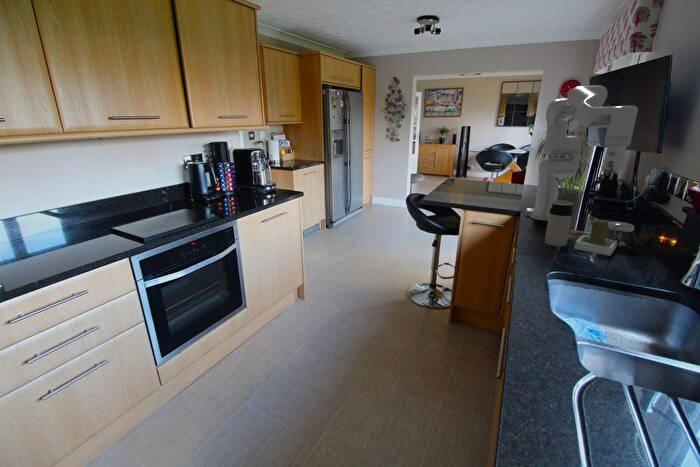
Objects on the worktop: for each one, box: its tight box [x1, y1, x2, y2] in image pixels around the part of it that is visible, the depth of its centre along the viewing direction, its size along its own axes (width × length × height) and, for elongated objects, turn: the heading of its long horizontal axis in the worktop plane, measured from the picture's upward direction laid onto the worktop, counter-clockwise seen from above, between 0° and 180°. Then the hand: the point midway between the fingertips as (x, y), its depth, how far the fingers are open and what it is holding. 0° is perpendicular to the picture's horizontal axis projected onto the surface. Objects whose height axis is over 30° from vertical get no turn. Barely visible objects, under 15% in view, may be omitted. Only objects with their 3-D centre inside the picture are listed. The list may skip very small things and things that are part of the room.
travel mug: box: [544, 199, 574, 248], centre depth 136 cm, size 8×8×18 cm
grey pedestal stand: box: [606, 221, 635, 248], centre depth 135 cm, size 9×9×9 cm
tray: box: [574, 235, 617, 256], centre depth 132 cm, size 12×12×3 cm
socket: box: [567, 229, 591, 242], centre depth 144 cm, size 10×10×2 cm
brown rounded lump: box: [587, 219, 609, 246], centre depth 131 cm, size 6×6×11 cm
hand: (607, 188), depth 126 cm, fingers open, 9 cm apart
